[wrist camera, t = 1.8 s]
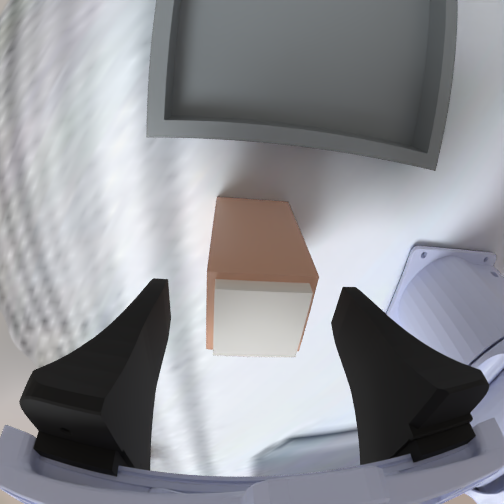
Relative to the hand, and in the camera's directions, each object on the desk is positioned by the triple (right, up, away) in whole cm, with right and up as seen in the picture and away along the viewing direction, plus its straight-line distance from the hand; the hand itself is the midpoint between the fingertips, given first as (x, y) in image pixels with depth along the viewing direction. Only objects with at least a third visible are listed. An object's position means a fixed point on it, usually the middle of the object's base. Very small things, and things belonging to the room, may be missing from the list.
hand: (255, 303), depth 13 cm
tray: (+3, +14, -1) cm, 15 cm away
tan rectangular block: (0, +3, +6) cm, 7 cm away
